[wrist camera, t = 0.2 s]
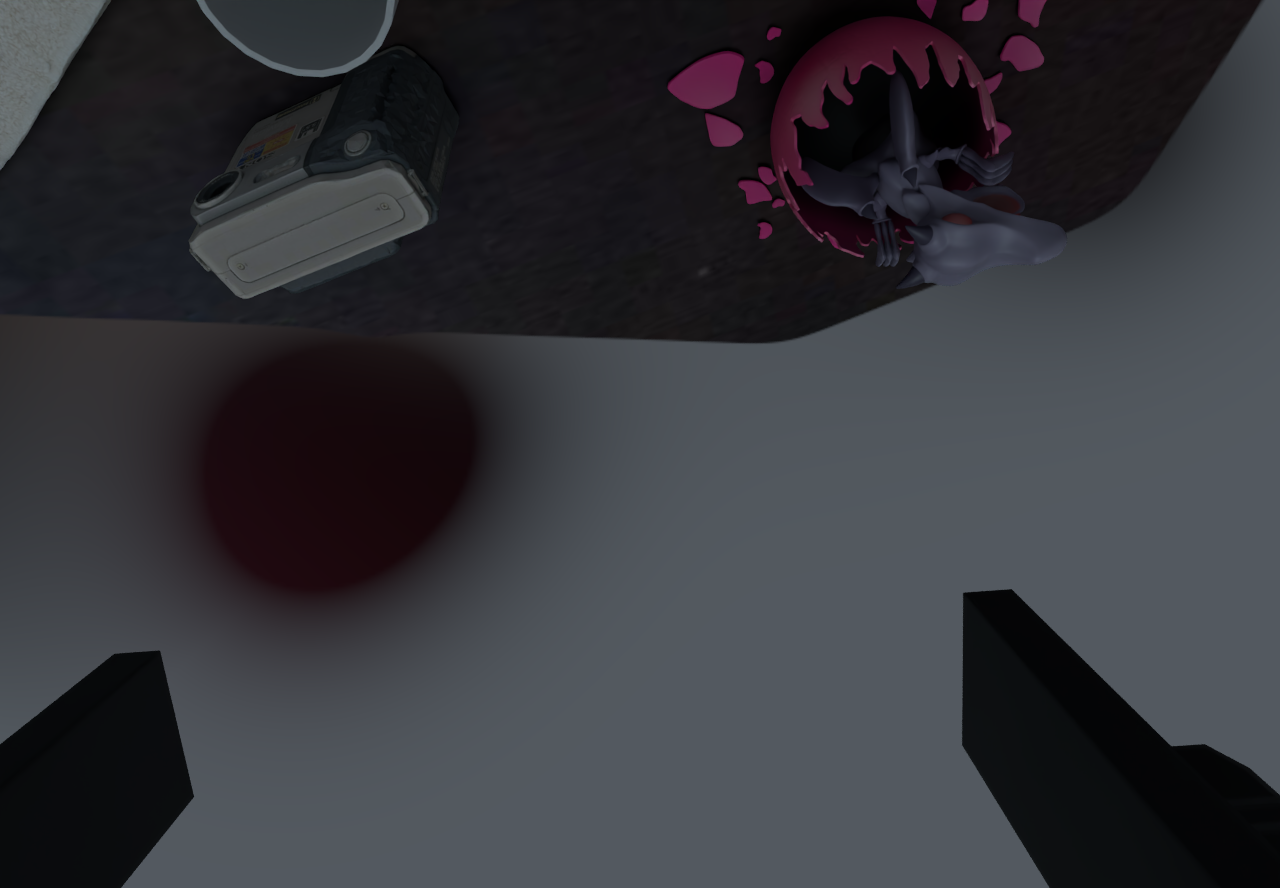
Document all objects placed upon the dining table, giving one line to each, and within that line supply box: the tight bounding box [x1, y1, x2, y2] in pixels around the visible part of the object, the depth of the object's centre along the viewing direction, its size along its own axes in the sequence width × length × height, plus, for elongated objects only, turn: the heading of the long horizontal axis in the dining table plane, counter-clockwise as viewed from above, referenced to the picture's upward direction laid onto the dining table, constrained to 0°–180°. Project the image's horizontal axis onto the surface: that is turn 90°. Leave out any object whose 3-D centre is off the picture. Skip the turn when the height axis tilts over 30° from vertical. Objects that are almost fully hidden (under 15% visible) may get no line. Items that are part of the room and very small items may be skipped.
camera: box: [189, 45, 459, 299], centre depth 41 cm, size 11×6×10 cm, turn 111°
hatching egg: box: [668, 0, 1067, 289], centre depth 40 cm, size 20×16×14 cm
